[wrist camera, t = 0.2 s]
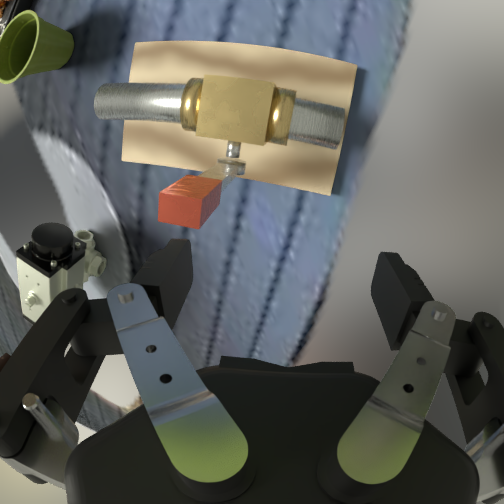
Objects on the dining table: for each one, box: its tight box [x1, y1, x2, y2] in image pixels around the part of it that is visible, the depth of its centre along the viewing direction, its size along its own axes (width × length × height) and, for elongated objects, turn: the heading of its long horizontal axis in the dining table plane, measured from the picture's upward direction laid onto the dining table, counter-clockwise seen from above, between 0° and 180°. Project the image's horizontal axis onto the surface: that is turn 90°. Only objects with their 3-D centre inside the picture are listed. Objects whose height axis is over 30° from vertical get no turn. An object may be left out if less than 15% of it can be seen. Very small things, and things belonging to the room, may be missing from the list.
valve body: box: [94, 74, 345, 158], centre depth 30 cm, size 8×26×12 cm, turn 81°
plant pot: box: [0, 10, 74, 84], centre depth 29 cm, size 12×12×11 cm
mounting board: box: [122, 41, 357, 196], centre depth 36 cm, size 18×30×2 cm, turn 81°
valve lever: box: [158, 158, 246, 229], centre depth 24 cm, size 2×3×16 cm, turn 81°
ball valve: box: [16, 223, 107, 325], centre depth 42 cm, size 18×8×18 cm, turn 157°
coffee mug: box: [0, 353, 11, 372], centre depth 74 cm, size 12×9×10 cm
